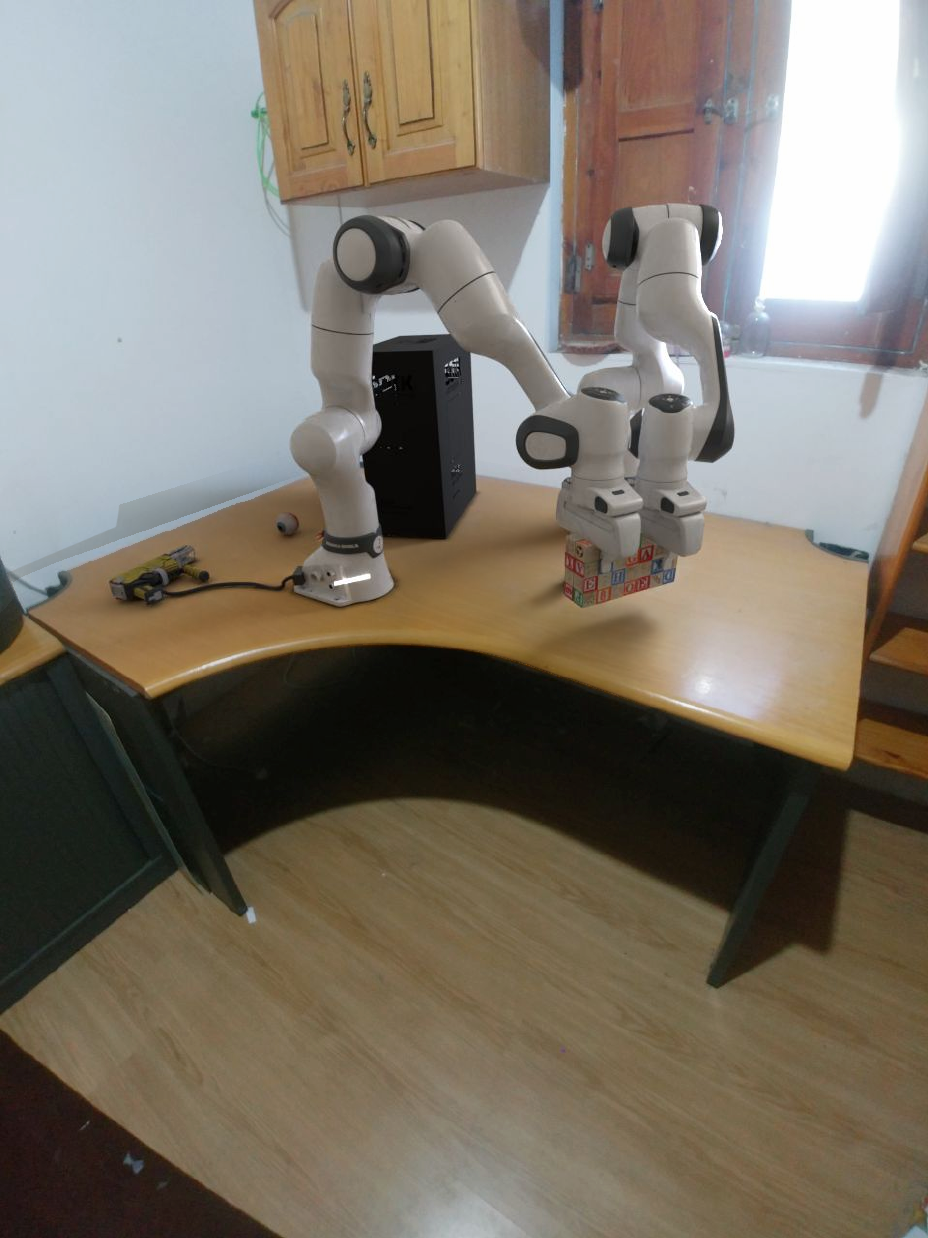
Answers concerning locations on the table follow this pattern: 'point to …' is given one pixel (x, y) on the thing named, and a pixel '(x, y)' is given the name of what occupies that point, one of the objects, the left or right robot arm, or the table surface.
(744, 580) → the table surface
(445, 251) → the left robot arm
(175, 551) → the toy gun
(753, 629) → the table surface
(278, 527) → the eyeball
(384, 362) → the black computer case
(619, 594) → the stack of blocks
